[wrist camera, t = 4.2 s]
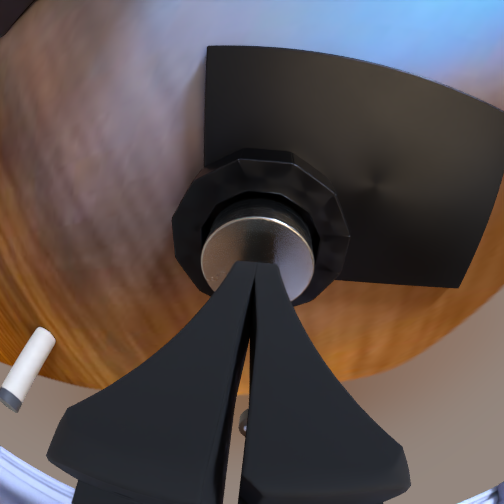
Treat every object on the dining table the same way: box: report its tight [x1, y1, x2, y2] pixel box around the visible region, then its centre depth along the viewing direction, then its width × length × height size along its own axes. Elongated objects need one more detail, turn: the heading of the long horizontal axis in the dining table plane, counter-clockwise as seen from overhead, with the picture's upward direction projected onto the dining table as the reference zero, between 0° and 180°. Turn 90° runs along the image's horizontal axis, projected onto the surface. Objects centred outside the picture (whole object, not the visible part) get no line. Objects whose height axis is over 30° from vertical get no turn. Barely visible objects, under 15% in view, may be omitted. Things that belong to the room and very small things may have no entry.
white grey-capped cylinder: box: [0, 327, 56, 413], centre depth 18 cm, size 2×2×8 cm
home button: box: [201, 196, 314, 302], centre depth 11 cm, size 4×4×2 cm
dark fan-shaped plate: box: [172, 46, 504, 307], centre depth 11 cm, size 15×11×2 cm
